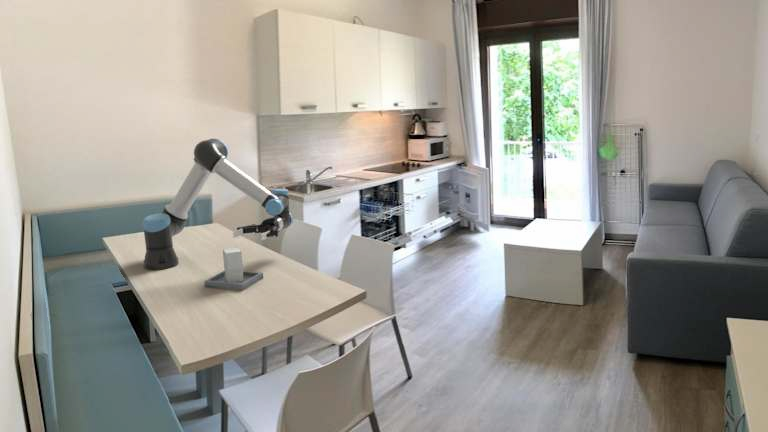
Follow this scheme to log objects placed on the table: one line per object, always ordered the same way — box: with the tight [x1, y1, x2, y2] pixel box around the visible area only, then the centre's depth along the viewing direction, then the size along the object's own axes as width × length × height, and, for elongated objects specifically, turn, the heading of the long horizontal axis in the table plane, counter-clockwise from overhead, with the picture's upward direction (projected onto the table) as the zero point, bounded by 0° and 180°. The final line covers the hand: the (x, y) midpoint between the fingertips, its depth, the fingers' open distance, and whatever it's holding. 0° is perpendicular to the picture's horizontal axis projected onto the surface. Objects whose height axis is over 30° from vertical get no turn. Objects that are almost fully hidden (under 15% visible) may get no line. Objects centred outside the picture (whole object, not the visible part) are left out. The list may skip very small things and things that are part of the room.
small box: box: [222, 246, 244, 283], centre depth 231 cm, size 8×6×13 cm
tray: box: [204, 270, 264, 291], centre depth 232 cm, size 18×16×2 cm
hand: (247, 236), depth 240 cm, fingers open, 13 cm apart
